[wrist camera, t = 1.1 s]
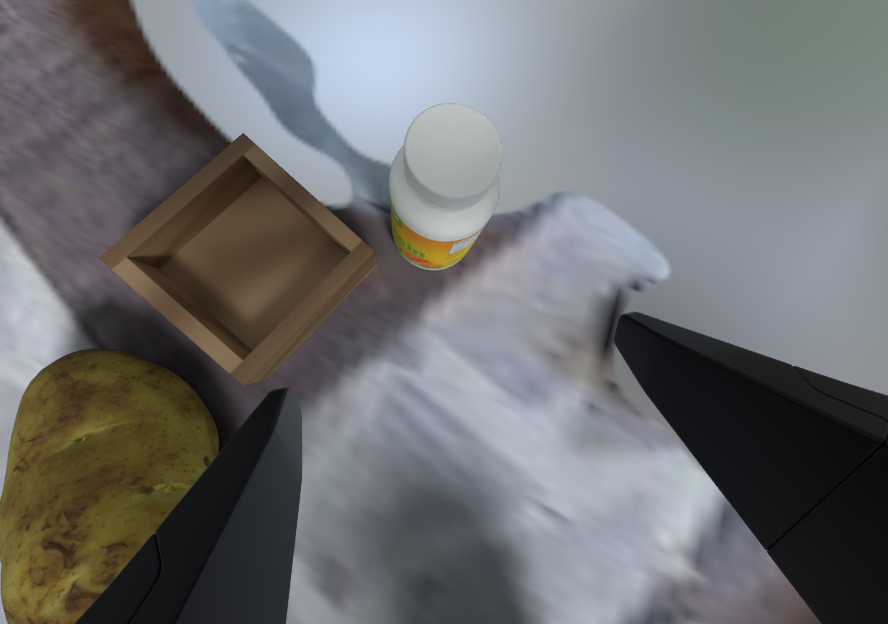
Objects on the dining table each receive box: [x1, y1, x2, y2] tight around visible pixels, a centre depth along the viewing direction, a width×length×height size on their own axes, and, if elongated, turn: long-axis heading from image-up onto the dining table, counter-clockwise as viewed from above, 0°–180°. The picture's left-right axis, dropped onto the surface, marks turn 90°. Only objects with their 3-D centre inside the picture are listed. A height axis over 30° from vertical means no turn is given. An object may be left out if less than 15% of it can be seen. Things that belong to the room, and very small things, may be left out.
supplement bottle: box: [389, 103, 503, 270], centre depth 18 cm, size 5×5×10 cm
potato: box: [0, 349, 219, 624], centre depth 16 cm, size 8×13×8 cm, turn 12°
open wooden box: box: [99, 133, 378, 385], centre depth 20 cm, size 10×10×3 cm
